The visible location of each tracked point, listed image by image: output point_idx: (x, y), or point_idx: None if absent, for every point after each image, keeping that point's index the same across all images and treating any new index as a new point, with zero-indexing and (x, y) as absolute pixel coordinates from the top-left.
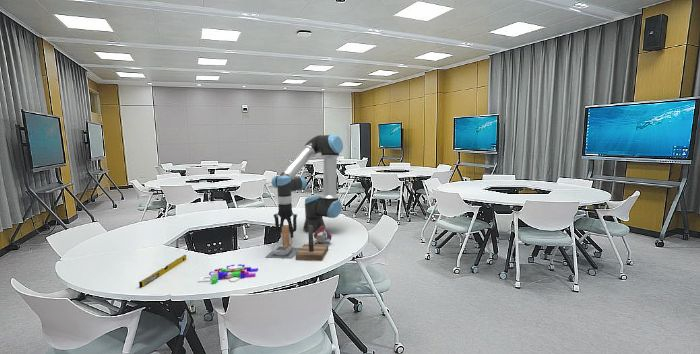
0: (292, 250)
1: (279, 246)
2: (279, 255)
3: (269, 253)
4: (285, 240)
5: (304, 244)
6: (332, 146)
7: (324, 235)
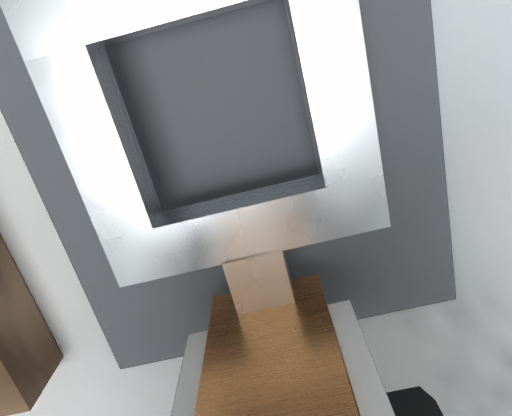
0: None
1: (318, 191)
2: None
3: (424, 36)
4: (274, 355)
5: (14, 399)
6: None
7: None
